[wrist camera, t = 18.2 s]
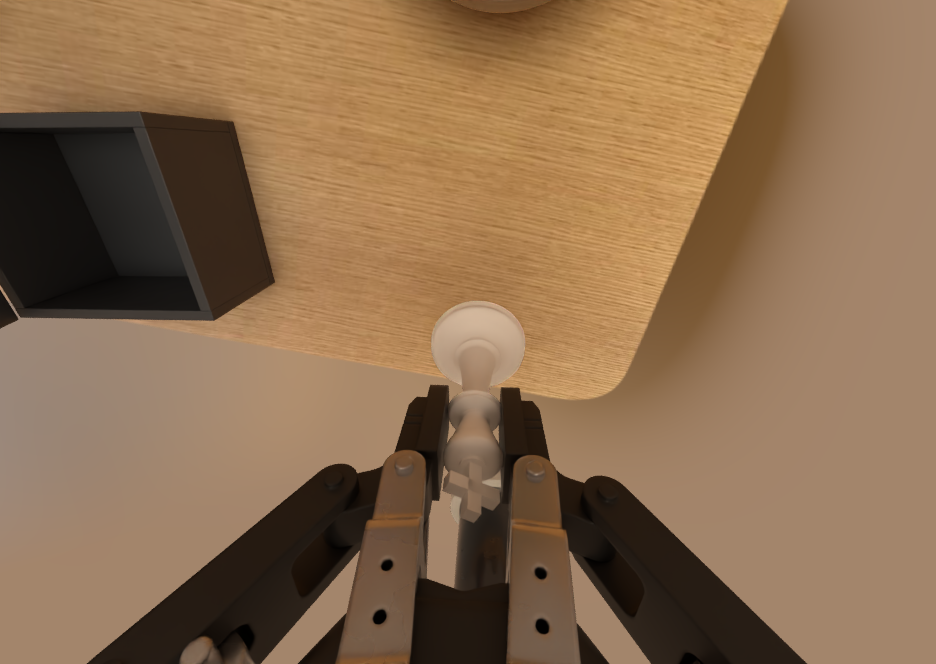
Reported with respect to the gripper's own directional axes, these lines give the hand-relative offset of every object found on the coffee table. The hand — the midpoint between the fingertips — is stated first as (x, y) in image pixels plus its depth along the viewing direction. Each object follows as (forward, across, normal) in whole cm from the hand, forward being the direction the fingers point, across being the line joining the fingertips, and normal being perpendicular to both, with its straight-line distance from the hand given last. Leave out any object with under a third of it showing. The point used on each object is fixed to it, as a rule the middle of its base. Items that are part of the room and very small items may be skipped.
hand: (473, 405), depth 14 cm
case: (+21, +28, -4) cm, 35 cm away
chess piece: (+5, 0, 0) cm, 5 cm away
